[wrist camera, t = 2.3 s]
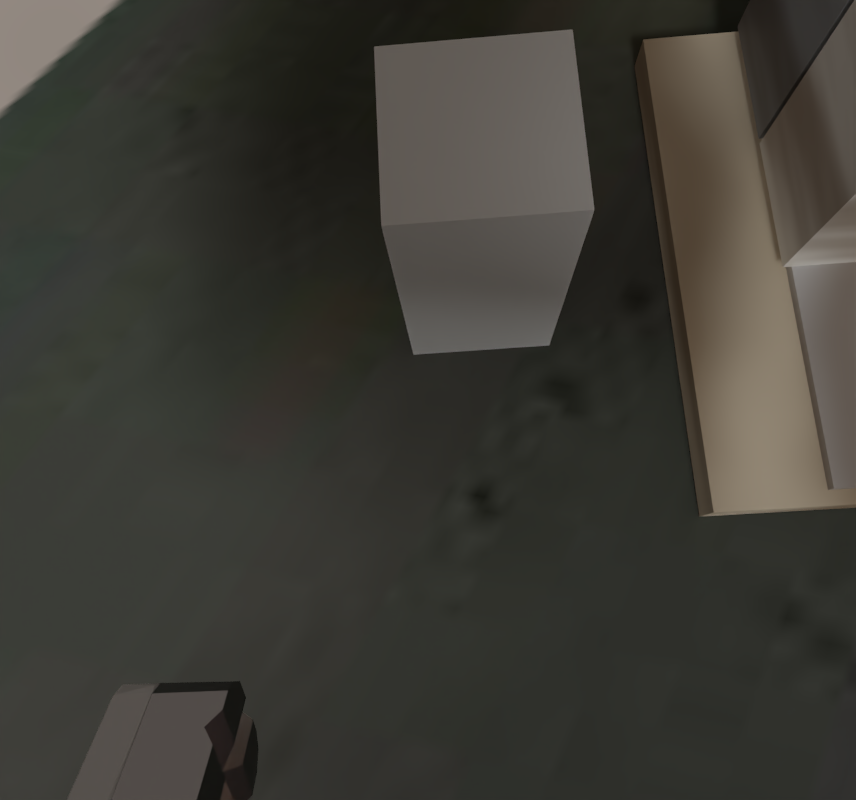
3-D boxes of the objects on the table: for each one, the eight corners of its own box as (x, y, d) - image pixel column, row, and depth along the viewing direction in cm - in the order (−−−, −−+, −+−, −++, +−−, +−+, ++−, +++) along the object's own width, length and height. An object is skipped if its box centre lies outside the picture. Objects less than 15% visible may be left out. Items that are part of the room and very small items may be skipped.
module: (413, 354, 27) (381, 226, 17) (407, 226, 28) (374, 39, 18) (549, 345, 27) (594, 209, 17) (536, 217, 28) (571, 22, 18)
